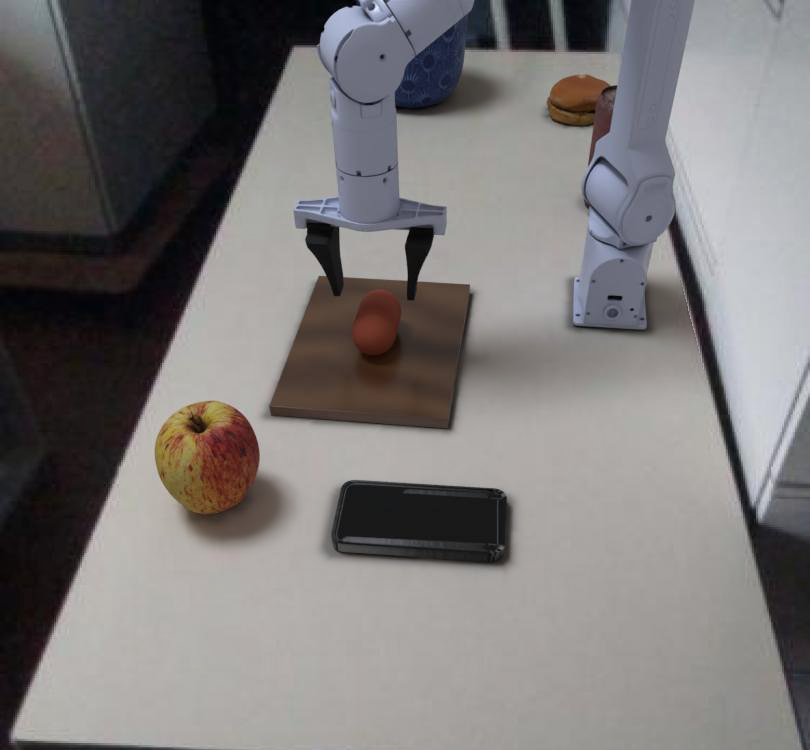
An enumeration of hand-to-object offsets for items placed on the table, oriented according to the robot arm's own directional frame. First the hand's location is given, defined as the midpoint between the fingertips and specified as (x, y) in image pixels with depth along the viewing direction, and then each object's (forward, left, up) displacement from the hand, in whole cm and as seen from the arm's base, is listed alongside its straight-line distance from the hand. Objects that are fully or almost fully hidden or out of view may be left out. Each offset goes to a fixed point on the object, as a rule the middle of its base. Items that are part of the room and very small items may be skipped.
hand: (375, 292), depth 88 cm
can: (+35, -25, -7) cm, 44 cm away
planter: (+67, +5, -7) cm, 68 cm away
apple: (-24, +11, -7) cm, 27 cm away
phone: (-25, -8, -7) cm, 27 cm away
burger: (+63, -21, -7) cm, 67 cm away
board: (0, 0, -7) cm, 7 cm away
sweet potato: (0, 0, -6) cm, 6 cm away
